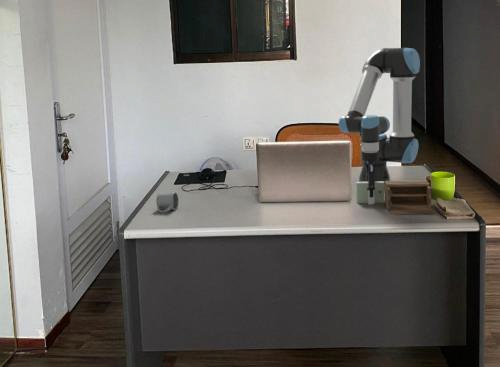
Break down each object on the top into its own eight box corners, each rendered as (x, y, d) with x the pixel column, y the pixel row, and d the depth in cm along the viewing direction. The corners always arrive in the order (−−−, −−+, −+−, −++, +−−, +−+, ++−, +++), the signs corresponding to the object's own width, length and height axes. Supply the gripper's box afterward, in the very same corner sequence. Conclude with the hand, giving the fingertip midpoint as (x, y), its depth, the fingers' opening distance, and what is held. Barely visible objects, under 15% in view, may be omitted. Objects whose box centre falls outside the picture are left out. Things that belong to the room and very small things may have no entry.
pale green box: (356, 201, 342) (356, 181, 340) (383, 200, 341) (383, 181, 339) (356, 203, 338) (356, 183, 336) (384, 202, 337) (384, 182, 335)
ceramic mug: (162, 206, 344) (161, 190, 342) (179, 207, 342) (178, 190, 340) (153, 213, 334) (152, 196, 332) (171, 213, 332) (169, 196, 330)
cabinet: (384, 203, 337) (384, 180, 334) (426, 202, 335) (426, 180, 333) (389, 214, 319) (389, 190, 316) (433, 213, 317) (434, 189, 315)
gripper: (359, 147, 346) (359, 195, 351) (363, 156, 324) (363, 207, 329) (376, 146, 345) (375, 195, 350) (381, 155, 324) (381, 207, 329)
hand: (370, 201), depth 340 cm, fingers open, 9 cm apart
